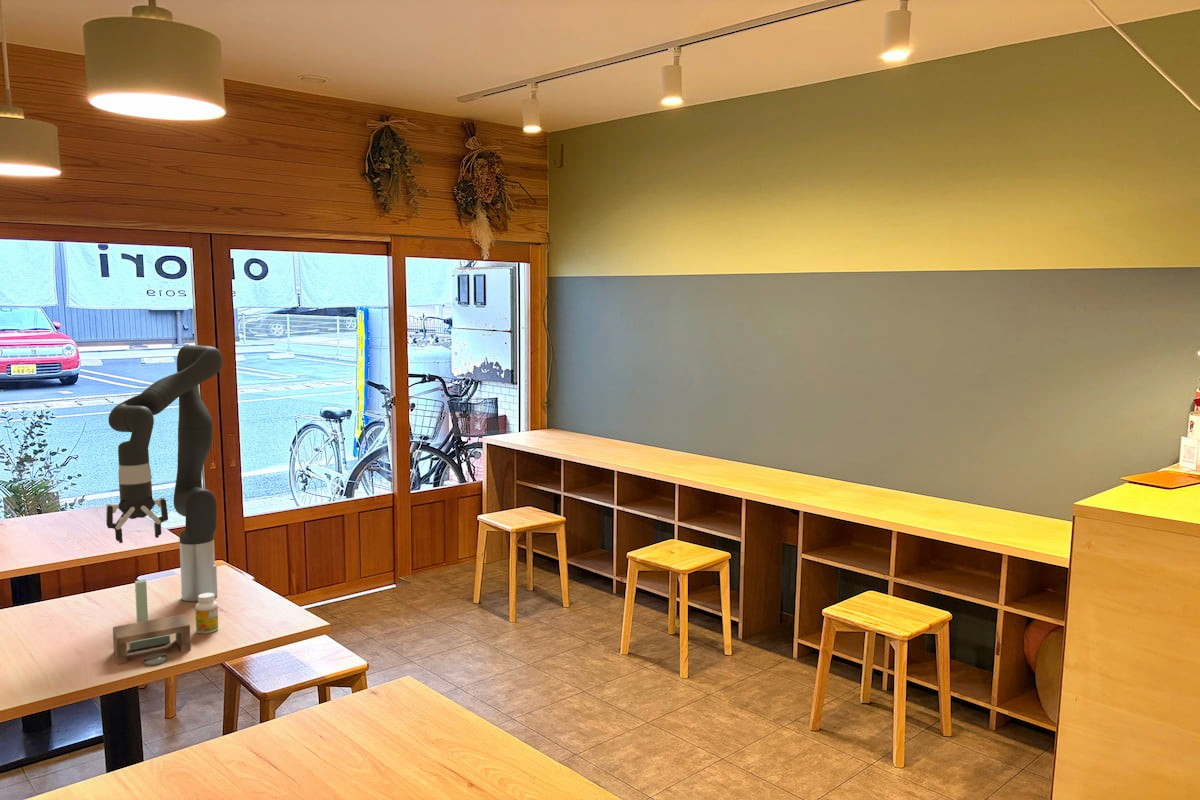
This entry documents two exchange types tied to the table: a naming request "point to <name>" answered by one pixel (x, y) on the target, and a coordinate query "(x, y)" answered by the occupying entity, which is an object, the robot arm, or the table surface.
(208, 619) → the supplement bottle
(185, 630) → the wooden arch
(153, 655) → the token
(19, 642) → the table surface
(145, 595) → the rake
